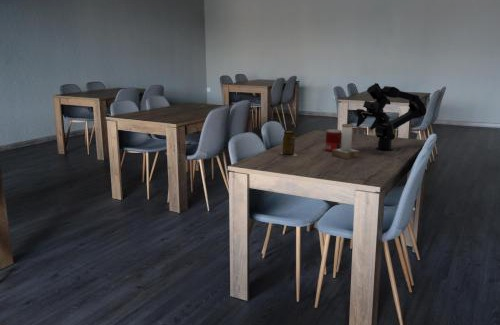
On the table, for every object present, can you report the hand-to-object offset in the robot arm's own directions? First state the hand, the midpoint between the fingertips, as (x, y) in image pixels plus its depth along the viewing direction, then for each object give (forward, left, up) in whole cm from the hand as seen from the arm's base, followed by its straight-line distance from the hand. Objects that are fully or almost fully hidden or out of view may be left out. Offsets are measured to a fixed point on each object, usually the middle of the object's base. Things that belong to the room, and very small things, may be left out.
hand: (363, 128), depth 241 cm
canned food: (+11, -11, -14) cm, 21 cm away
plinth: (+13, +3, -13) cm, 19 cm away
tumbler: (+12, +3, -10) cm, 16 cm away
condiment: (+38, -12, -14) cm, 42 cm away
